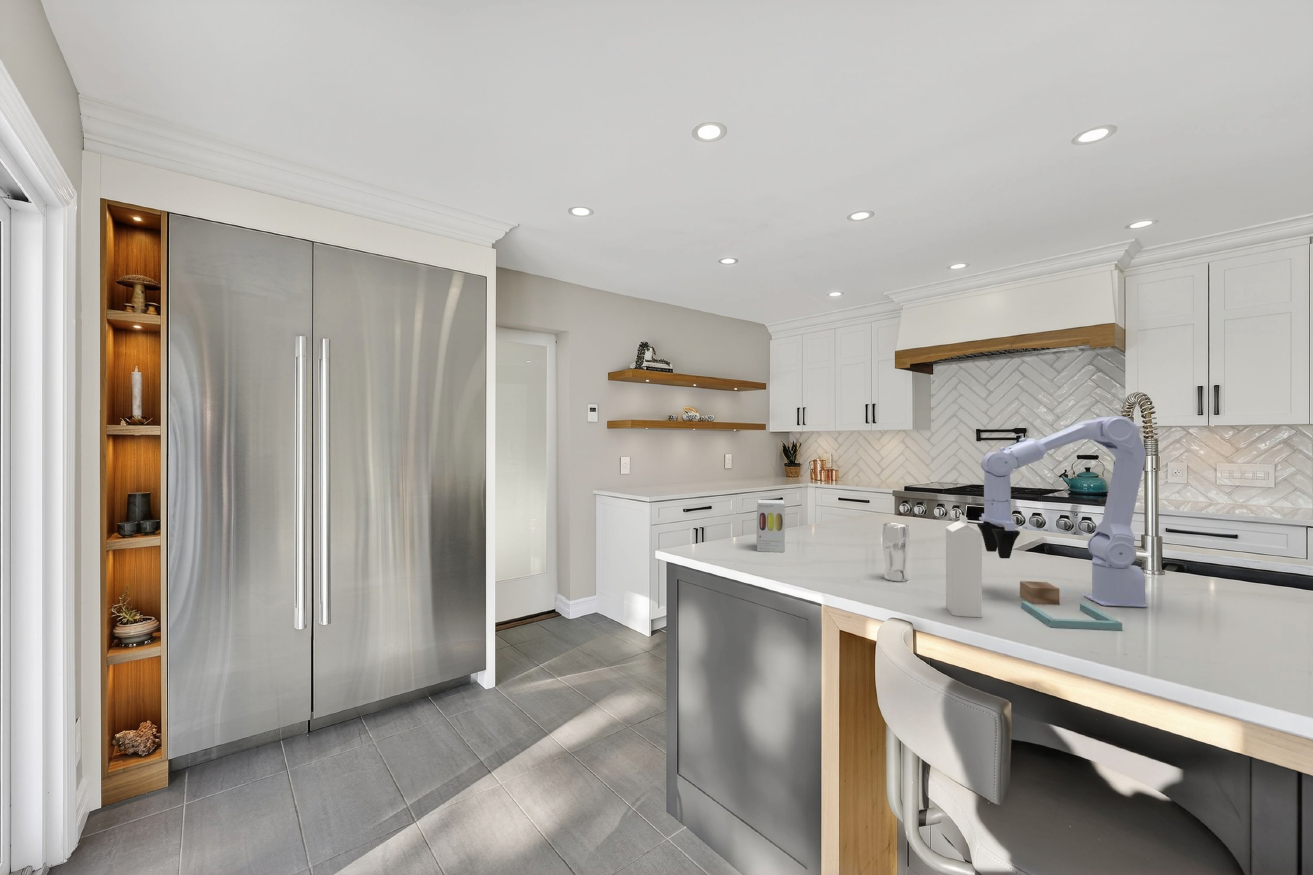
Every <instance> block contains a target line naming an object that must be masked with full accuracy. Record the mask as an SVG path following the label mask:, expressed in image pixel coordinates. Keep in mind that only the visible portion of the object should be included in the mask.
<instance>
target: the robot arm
mask: <svg viewBox="0 0 1313 875" xmlns="http://www.w3.org/2000/svg"><path fill="white" fill-rule="evenodd" d="M1140 429H1141V428H1140V427H1139V426H1138V425H1137V424H1136V423H1135V422H1134V421H1132V420H1131V419H1130V418H1128V417H1126V416H1121V415H1115V416H1097V417H1094V418H1092V419H1088V420H1087V419H1086V420H1083V421H1080V422H1078V423H1074V424H1072V425H1070V426H1068V427H1066V428H1064V429H1062V430H1058V431H1056V432H1055V433H1052V434H1049V435H1047V436H1045V437H1043V438H1041V439H1035V438H1032V437H1029V438H1026V437H1021V438H1019V439H1018V442H1016V443H1014V444H1012V445H1011V444H1010V445H1009V446H1006V447H1005V446H1001V447H999V451H998V452H997V451H991V452H988V453H986V454H984V457H983V458H982V461H981V462H980V467H981V469H982V471H984V472H983V473H984V474H983V475H984V476H983V478H984V482H983V502H984V503H983V504H984V505H983V508H984V510H983V512H984V513H981V516H979V517H978V519H979V521H981V522H977V523H976V525H977V528H978V529H979V531H980V532H981V533H982V540H983V543H984V546H985V550H986V552H989V553H990V552H993V553H994V552H997V553H998V557H999V559H1010V558H1011V556H1012V551H1013V548H1014V545H1015V542H1016V541H1017V539H1018V537H1019V536H1020V534H1021V531H1020V530H1017V529H1016V523H1015V522H1014V521H1013V518H1012V500H1011V498H1012V489H1011V488H1012V487H1011V485H1012V484H1011V474H1012V473H1013V472H1014V470H1018V469H1019V468H1022V467H1025V466H1028V465H1030V464H1033V463H1035V462H1039V461H1040V460H1042V459H1043V458H1044V457H1045V455H1046V453H1047V452H1049V451H1050V452H1051V451H1052V450H1056V449H1057V448H1060V447H1061V448H1062V447H1063V446H1064V447H1065V446H1066V445H1070V444H1072V443H1076V442H1078V441H1081V440H1082V441H1083V440H1088V441H1089V440H1091V441H1093V442H1095V443H1097V444H1099V445H1101V446H1103V447H1104V448H1106V450H1108V452H1110V453H1111V454H1112V455H1113V456H1114V458H1115V460H1114V465H1113V469H1112V474H1111V477H1110V478H1111V479H1110V483H1109V488H1108V492H1107V497H1106V502H1105V506H1104V511H1103V516H1102V521H1101V522H1100V523H1099V524H1097V526H1096V527H1095V530H1094V533H1093V535H1092V536H1090V538H1089V539H1088V541H1087V549H1088V552H1089V553H1090V554H1091V555H1092V560H1091V593H1089V594H1088V593H1084V594H1083V597H1085V598H1087V599H1089V600H1091V601H1093V602H1095V603H1097V604H1098V605H1101V606H1105V607H1138V608H1148V604H1146V576H1145V573H1144V571H1143V569H1142V568H1140V567H1139V566H1138V565H1132V564H1133V563H1134V562H1135V560H1136V558H1137V551H1136V548H1135V540H1136V538H1135V535H1134V532H1133V531H1132V528H1131V527H1132V521H1133V516H1134V512H1135V508H1136V503H1137V498H1138V493H1139V490H1140V485H1141V481H1142V480H1141V479H1142V476H1143V472H1144V466H1145V463H1146V462H1145V461H1146V457H1147V450H1146V449H1145V445H1144V442H1143V441H1142V438H1141V435H1140V431H1141V430H1140Z"/></svg>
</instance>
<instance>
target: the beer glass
mask: <svg viewBox="0 0 1313 875" xmlns="http://www.w3.org/2000/svg"><path fill="white" fill-rule="evenodd" d="M881 535H882V536H881V543H882V544H881V545H882V551H883V557H884V563H885V567H884V568H885V569H884V575H883V578H884V580H886V581H888V582H889V581H890V582H896V583H897V582H898V583H904V582H907V581H908V580H909V578H908V572H907V562H908V557H909V551H910V530H909V525H908V524H905V523H901V522H900V523H899V522H896V523H895V522H887V523H883V524H882V534H881Z"/></svg>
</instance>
